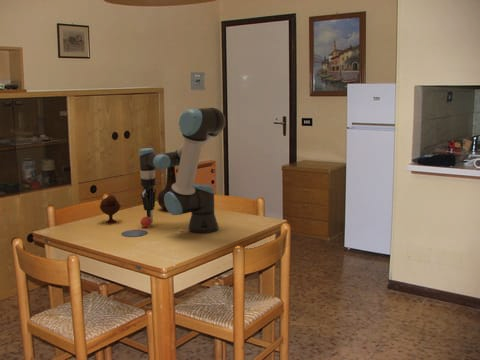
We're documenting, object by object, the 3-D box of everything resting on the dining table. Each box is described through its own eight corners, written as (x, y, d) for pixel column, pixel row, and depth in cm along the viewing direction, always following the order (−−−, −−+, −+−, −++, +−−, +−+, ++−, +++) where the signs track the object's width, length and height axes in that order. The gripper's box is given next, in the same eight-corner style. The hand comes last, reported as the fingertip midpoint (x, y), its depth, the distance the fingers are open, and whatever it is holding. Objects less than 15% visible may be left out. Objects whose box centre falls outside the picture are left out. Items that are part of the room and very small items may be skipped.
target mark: (153, 232, 285) (153, 232, 285) (133, 238, 275) (133, 238, 274) (135, 228, 292) (135, 228, 292) (115, 234, 282) (115, 234, 282)
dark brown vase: (183, 213, 325) (181, 164, 320) (153, 212, 328) (151, 164, 323) (192, 206, 342) (190, 160, 337) (163, 205, 346) (161, 160, 341)
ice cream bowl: (123, 219, 312) (122, 193, 309) (117, 224, 301) (115, 197, 299) (104, 219, 313) (103, 193, 311) (98, 224, 302) (96, 197, 300)
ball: (153, 226, 296) (153, 216, 295) (146, 229, 291) (145, 218, 290) (146, 225, 299) (145, 215, 298) (138, 227, 295) (138, 217, 294)
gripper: (147, 175, 303) (149, 218, 307) (135, 179, 290) (137, 224, 294) (160, 176, 300) (162, 219, 304) (148, 180, 288) (150, 225, 292)
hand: (150, 222), depth 299 cm, fingers closed
